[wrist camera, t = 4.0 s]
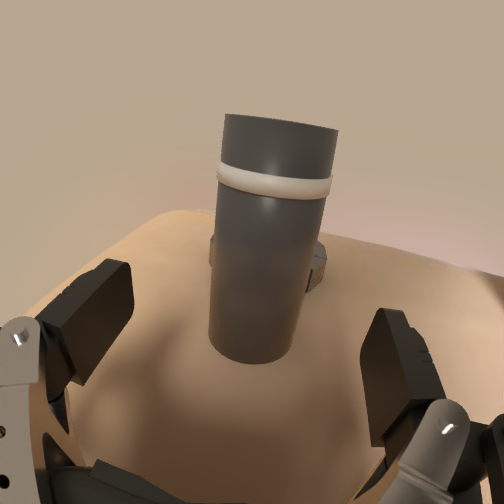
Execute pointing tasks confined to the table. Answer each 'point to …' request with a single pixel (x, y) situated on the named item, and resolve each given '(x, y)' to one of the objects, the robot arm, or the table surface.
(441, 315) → the table surface
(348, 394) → the table surface
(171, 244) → the table surface
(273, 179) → the dark grey canister
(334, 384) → the table surface
